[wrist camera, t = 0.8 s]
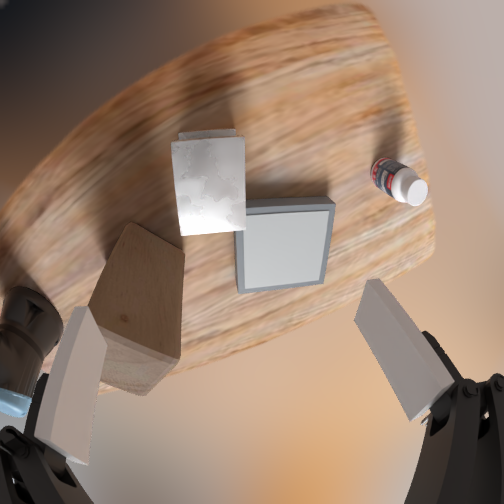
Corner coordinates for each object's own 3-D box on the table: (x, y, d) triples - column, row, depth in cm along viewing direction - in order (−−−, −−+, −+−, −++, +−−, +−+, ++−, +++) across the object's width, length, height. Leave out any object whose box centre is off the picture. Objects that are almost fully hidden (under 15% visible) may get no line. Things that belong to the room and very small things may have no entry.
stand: (236, 282, 44) (238, 294, 42) (232, 200, 37) (235, 209, 34) (317, 273, 46) (323, 284, 44) (327, 196, 39) (336, 204, 36)
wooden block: (130, 217, 36) (83, 318, 19) (188, 250, 40) (184, 362, 23) (104, 266, 39) (65, 368, 22) (157, 294, 43) (145, 401, 26)
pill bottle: (367, 162, 37) (402, 180, 29) (393, 153, 37) (429, 169, 29) (372, 192, 40) (405, 215, 32) (397, 182, 40) (431, 203, 32)
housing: (185, 204, 36) (181, 235, 28) (179, 132, 31) (170, 142, 23) (236, 200, 37) (246, 229, 29) (234, 128, 32) (244, 136, 24)
